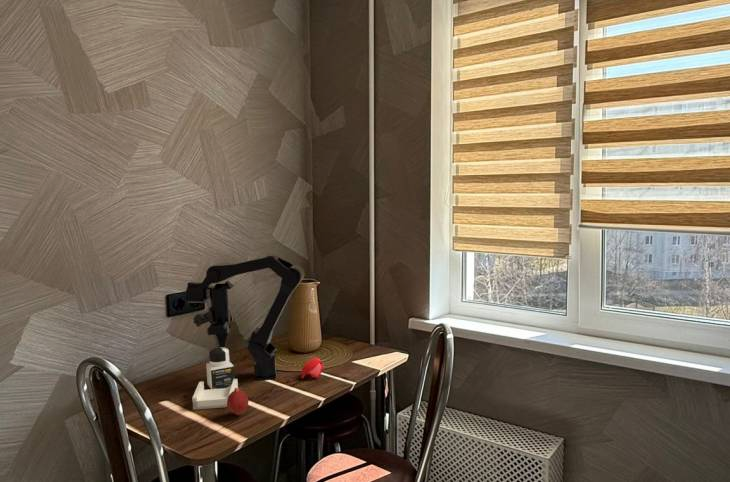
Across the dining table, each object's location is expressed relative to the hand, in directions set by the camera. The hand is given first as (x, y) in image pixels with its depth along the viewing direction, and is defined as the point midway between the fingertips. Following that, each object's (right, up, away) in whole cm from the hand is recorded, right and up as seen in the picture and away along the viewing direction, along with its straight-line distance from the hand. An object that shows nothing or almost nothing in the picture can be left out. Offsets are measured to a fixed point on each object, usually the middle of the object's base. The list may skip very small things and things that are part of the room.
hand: (222, 348), depth 190 cm
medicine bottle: (+1, -11, -7) cm, 13 cm away
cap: (+30, -9, -2) cm, 31 cm away
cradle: (+3, -12, -19) cm, 22 cm away
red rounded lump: (+12, -13, -30) cm, 35 cm away
